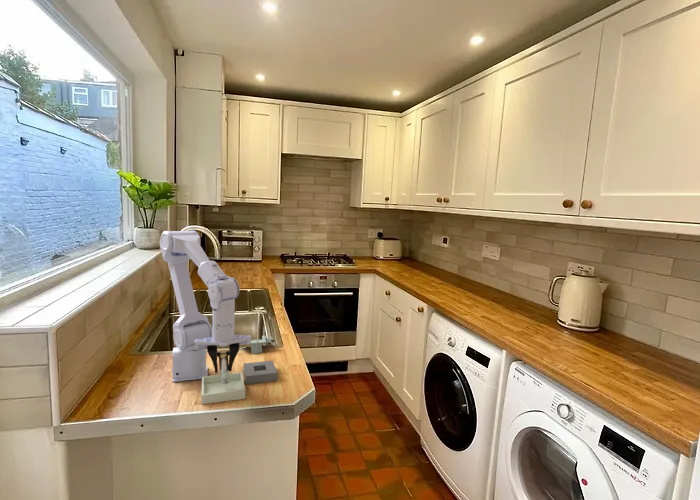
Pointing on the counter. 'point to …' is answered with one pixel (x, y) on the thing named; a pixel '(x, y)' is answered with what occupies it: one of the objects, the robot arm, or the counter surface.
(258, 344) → the metal bracket
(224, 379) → the steel pin
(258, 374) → the pin block
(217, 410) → the counter surface
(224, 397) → the tray
